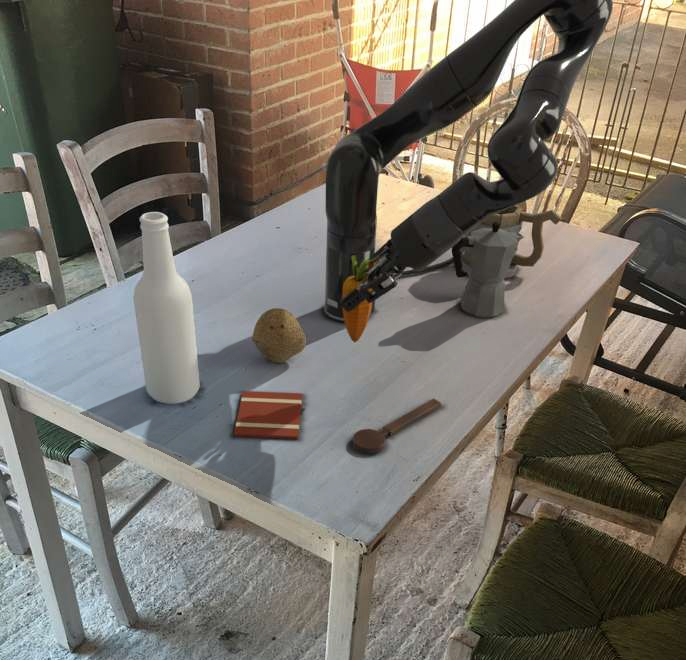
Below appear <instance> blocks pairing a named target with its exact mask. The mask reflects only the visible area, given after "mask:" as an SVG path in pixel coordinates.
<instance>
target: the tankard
mask: <svg viewBox="0 0 686 660" xmlns="http://www.w3.org/2000/svg"><path fill="white" fill-rule="evenodd" d="M561 220H562V216H561V215H560V214H559V213H558V212H556V211H555V210H554V209H550V210H547V211H541V212H538V213H529V212H524V211H523V208H522V206H520V205H519V204H517V205H515V206H512V207H510V208H508V209H505V210H503V211H501V212H499V213H496V214H494V215H492V216H490V217H488V218H487V219H486V220H484V221H483V222H482V223H480V224H479V225H478V226H476V227H475V228H474V229H472V230H471V231H470V232H468V233H467V234H466V235H465V237H467V236H471V232H473V231H476V230H478V229H481V228H491V229H492V222H499V223H500V224H501V225H500V227H499V229H502V230H504V231H507V232H514V233H517V234H520V232H521V230H522V228H523V227H522V226H523V223H532V226H531V233H530V234H531V240H532V246H533V249H532V252H531V254H530V255H528V256H525V255H521V254H518V253H517V251H518V247H519V243H520V241H519V242H518V244H517V247H516V249H515V252H514V255H513V258H512V261H511V263H510V266H509V269H508V272H507V273H506V274H505V276H504V279H510V278H512V277H513V276H514V274H515V272H516V271H517V269H518V266H520V267H534V266H535V265H536V264H537V263H538V262H539V260H540V259H541V258H542V257H543V253H544V249H545V244H544V238H543V237H544V236H543V229H544V227H543V226H544V223H545V222H548V221H550V222H552V224H554V225H558V224H559V223H560V222H561ZM462 248H463V249H464V250H465V251H464V252H463V253H462V254H461V262H462V272H467V276H469V275H470V274H471V270H472V269H471V247H462Z"/></svg>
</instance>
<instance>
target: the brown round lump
mask: <svg viewBox="0 0 686 660" xmlns="http://www.w3.org/2000/svg"><path fill="white" fill-rule="evenodd" d="M253 329H254V330H253V333H252V341H253V344H254V345H255V347H256V348H257V349H258V350H259V352H260V353H261V354H262V355H264V356H265V357H266V358H267V359H268V360H270V361H271V362H273V363H274V364H275V363H276V364H281V363H284V362H287V361H289V360H290V359H291V358H293V357H295V356H296V355H298V354H300V353H301V352H302V351H304V349H305V348H306V345H307V338H306V335H305V333H304V331H303V328H302V327H301V324H300V323H299V321H298V319H297V318H296V317H295V316H294V315H293V313H291V312H290V311H289V310H287V309H284V308H281V307H280V308H278V307H275V308H271V309H267V310H266V311H264V312H263V313H262V314H261V315H260V317H259V318H258V320H257V322H256V323H255V325H254V328H253Z"/></svg>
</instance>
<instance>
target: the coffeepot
mask: <svg viewBox="0 0 686 660" xmlns="http://www.w3.org/2000/svg"><path fill="white" fill-rule="evenodd" d="M500 225H501V224H500V223H499V222H492V229H491V228H481V229H478V230H476V231H473V232H471V236H467V235H466V236H467V237H466V236H464V237H463V238H462V239H461V240H460V241H459V242H458V243H457V244H456V245H454V246H453V247H452V248H451V254H452V257H453V260H454V261H453V265H454V270H455V271H454V272H455V275H456V277H457V278H466V277H467V276H468V278H467V280H466V284H465V285H464V290H463V293H462V295H461V298H460V307H461V310H462V311H464V312H465V313H466V314H468V315H471V316H474V317H478V318H493V317H498V316H499V315H501V314H502V313H503V312H505V278H504V276H505V274H506V273H507V272H508V269H509V266H510V263H511V261H512V258H513V255H514V252H515V249H516V247H517V244H518V245H519V243H520V241H521V240H523V239H524V238H525V236H523V235H522V234H521V233H519V234H517V233H514V232H507V231H504V230H502V229H499V227H500ZM518 242H519V243H518ZM463 247H471V269H472V270H471V274H470V275H468V274H467V272H464V271H463V270H462V262H461V252H460V251H461V249H462V248H463Z"/></svg>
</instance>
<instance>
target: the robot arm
mask: <svg viewBox="0 0 686 660" xmlns="http://www.w3.org/2000/svg"><path fill="white" fill-rule="evenodd" d="M613 8H614V2H613V0H512V2H510V4H509V5H508V6H506V7H505V8H504V9H503V10H502V11H501V12H500V13H499V14H498V15H497V16H495V17H494V18H493V19H492V20H491V21H490V22H489V23H487V24H486V25H485V26H483V27H482V28H481V29H480V30H478V31H477V32H476V33H474V35H472V36H471V37H469V38H468V39H467V40H465V41H464V42H463V43H462V44H461V45H459V46H458V47H456V48H455V49H454V50H452V51H451V52H450V53H449V54H447V55H446V56H445V57H443V58H442V59H440V61H438V62H437V63H436V64H434V65H433V66H432V67H431V68H430V69H429V70H428V71H426V73H424V74H422V75H421V77H420V78H418V79H416V81H415V82H414V83H413V84H412V85H410V87H408V88H407V89H406V90H405V91H404V92H403V93H402V94H401V95H400V96H399V97H398V98H397V99H396V100H395V101H394V102H393V103H392V104H391V105H390V106H389V107H388V108H386V109H385V110H384V111H382V112H381V113H379V114H378V115H376V116H374V117H373V118H372V119H370V120H369V121H367V122H366V123H364V124H363V125H360V126H359V127H358V128H356V129H354V130H353V131H351V132H349V133H348V134H346V135H345V136H343V137H342V138H340V140H339V141H338V142H337V143H336V145H335V146H334V148H333V150H332V151H331V153H330V155H329V157H328V160H327V162H326V169H325V216H326V251H325V252H326V253H325V254H326V255H325V285H324V306H323V311H324V314H325V315H326V316H327V317H328V318H330V319H333V320H335V321H339V322H343V323H345V321H344V315H343V308H344V309H345V310H346V311H347V312H350V311H351V310H353V309H354V308H355V307H356V306H358V305H359V304H360V303H362V302H363V301H364V300H365V299H366V300H367V302H368V303H371V302H372V307H371V312H370V315H371V314H372V312H375V306H376V300H377V299H379V298H381V297H382V296H384V295H385V294H387V293H389V292H390V291H391V290H393V289H395V288H396V287H397V285H398V282H397V280H398V279H399V278H400V277H404V276H410V275H417V274H422V273H425V272H429V271H433V270H436V269H439V268H442V267H445V266H447V265H450V264H452V263H454V260H453V256H452V257H451V258H449V259H447V260H444V261H442V262H439V263H436V264H432V263H434V262H435V261H436V260H438V259H439V258H440V257H442V256H443V255H444V254H446V253H447V252H448V251H450V250H452V247H453V246H454V245H456V244H457V243H458V242H459V241H460V240H461V239H462V238H463V237H466V236H467V234H468V232H470V231H471V230H472V229H474V228H475V227H476V226H478V225H479V224H480V223H482V222H483V221H484V220H486V219H487V218H488V217H490V216H492V215H494V214H496V213H499V212H501V211H503V210H505V209H508V208H510V207H512V206H515V205H520V204H522V203H524V202H526V201H529V200H531V199H533V198H535V197H537V196H539V195H540V194H542V193H544V191H545V190H546V189H548V188H549V187H550V185H551V184H553V182H554V180H555V179H556V176H557V173H558V169H559V164H558V160H557V158H556V156H555V155H554V153H553V152H552V151H551V150H550V148H549V147H548V146H547V144H546V143H545V142H544V141H546V140H549V139H550V138H552V137H553V136H554V135H555V134H556V133H557V132H558V130H559V128H560V126H561V124H562V120H563V118H564V115H565V112H566V109H567V106H568V102H569V100H570V96H571V94H572V91H573V88H574V85H575V83H576V81H577V79H578V77H579V75H580V73H581V71H582V69H583V68H584V66H585V64H586V62H587V61H588V60H589V58H590V56H591V54H592V53H593V51H594V49H595V47H596V45H597V43H598V42H599V40H600V38H601V37H602V35H603V33H604V31H605V30H606V27H607V25H608V24H609V21H610V19H611V16H612V12H613ZM542 16H544V18H545V20H546V22H547V24H548V26H549V27H550V28H551V30H552V32H553V33H554V35H555V36H556V37H557V40H558V42H557V43H558V44H557V48H556V49H557V50H556V53H554V54H551V55H548V56H546V57H544V58H542V59H541V60H539V61H538V62H536V64H534V65H533V66H532V68H531V69H530V70H529V71H528V72H527V74H526V76H525V77H524V80H523V82H522V84H521V86H520V90H519V92H518V95H517V98H516V101H515V104H514V106H513V108H512V110H510V112H509V113H508V115H507V116H506V118H505V119H504V120H503V121H502V123H501V124H500V125H499V126H498V127H497V129H496V130H495V131H494V132H493V134H492V135H491V136H490V138H489V139H488V143H487V147H486V148H487V153H486V154H487V158H488V161H489V163H490V165H491V166H492V167H493V168H494V169H495V172H497V173H498V175H499V177H501V178H500V179H498V180H494V181H493V180H492V181H489V180H487V179H485V178H483V177H482V176H480V175H479V174H477V173H476V172H472V171H469V172H466V173H464V174H462V175H461V176H460V177H458V178H457V179H456V180H454V182H452V183H451V184H450V185H449V186H448V187H446V188H445V189H443V190H442V191H441V192H440V193H439V194H438V195H436V196H435V197H433V198H431V199H430V200H428V201H426V202H425V203H424V204H422V205H421V206H420V207H418V209H417V210H415V211H414V212H412V213H411V214H409V216H408V217H406V218H405V219H404V220H403V221H402V222H400V223H399V224H398V225H397V226H395V227H394V228H393V229H392V230H391V232H390V239H389V238H388V240H387V241H386V242H385V243H384V244H383V245H382V246H381V247H380V248H379V249H377V250H376V240H377V239H376V238H377V228H378V227H377V225H378V215H377V204H378V190H379V178H380V174H381V172H382V171H383V170H384V169H385V168H386V167H387V166H388V165H389V164H390V163H391V162H392V161H394V159H396V158H397V157H398V156H399V155H400V154H401V153H403V151H405V150H406V149H408V148H409V147H411V145H413V144H415V143H416V142H419V141H420V140H423V139H424V138H426V137H427V138H428V137H429V136H431V135H434V134H436V133H438V132H440V131H443V130H444V129H446V128H448V127H450V126H452V125H453V124H455V123H456V122H458V121H460V120H462V118H464V117H465V116H466V115H468V114H469V113H471V112H472V111H473V110H474V109H476V108H477V107H478V106H480V105H482V103H483V102H485V101H486V100H487V99H488V97H490V95H491V93H493V90H494V88H495V86H496V85H497V82H498V81H499V79H500V76H501V74H502V72H503V69H504V67H505V65H506V63H507V60H508V58H509V56H510V54H511V52H512V50H513V49H514V47H515V45H516V43H517V42H518V41H519V39H520V38H521V36H523V34H524V33H525V32H526V31H527V30H528V29H529V28H530V27H531V26H532V25H533V24H534V23H535V22H536V21H537V20H539V18H541V17H542ZM464 251H465V250H464V249H463V247H462V248H461V249H460V252H461V254H462V253H463V252H464ZM353 255H355V256H356V260H357V267H358V269H359V267H360V265H361V263H362V262H363V260H368V259H370V260H371V261H370V262H369V263H368V265H367V266H366V268H365V269H364V272H363V273H365V272H368V273H367V274H366V279H365V280H364V281H363V282H362V283H361V284H360V285H358V286H357V287H356V288H355V289H354V290H353V291H351V292H350V293H349V294H348V295H346V296H345V297H344V298H343V284H344V282H345V281H346V279H347V278H348V277H350V276H354V273H353V266H352V265H353V262H352V259H351V257H352V256H353ZM431 264H432V265H431ZM407 268H411V269H410V270H409V269H408V270H406V269H407ZM370 288H371V289H372V290H371V291H370V292H369V291H368V289H370ZM342 298H343V299H342Z"/></svg>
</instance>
